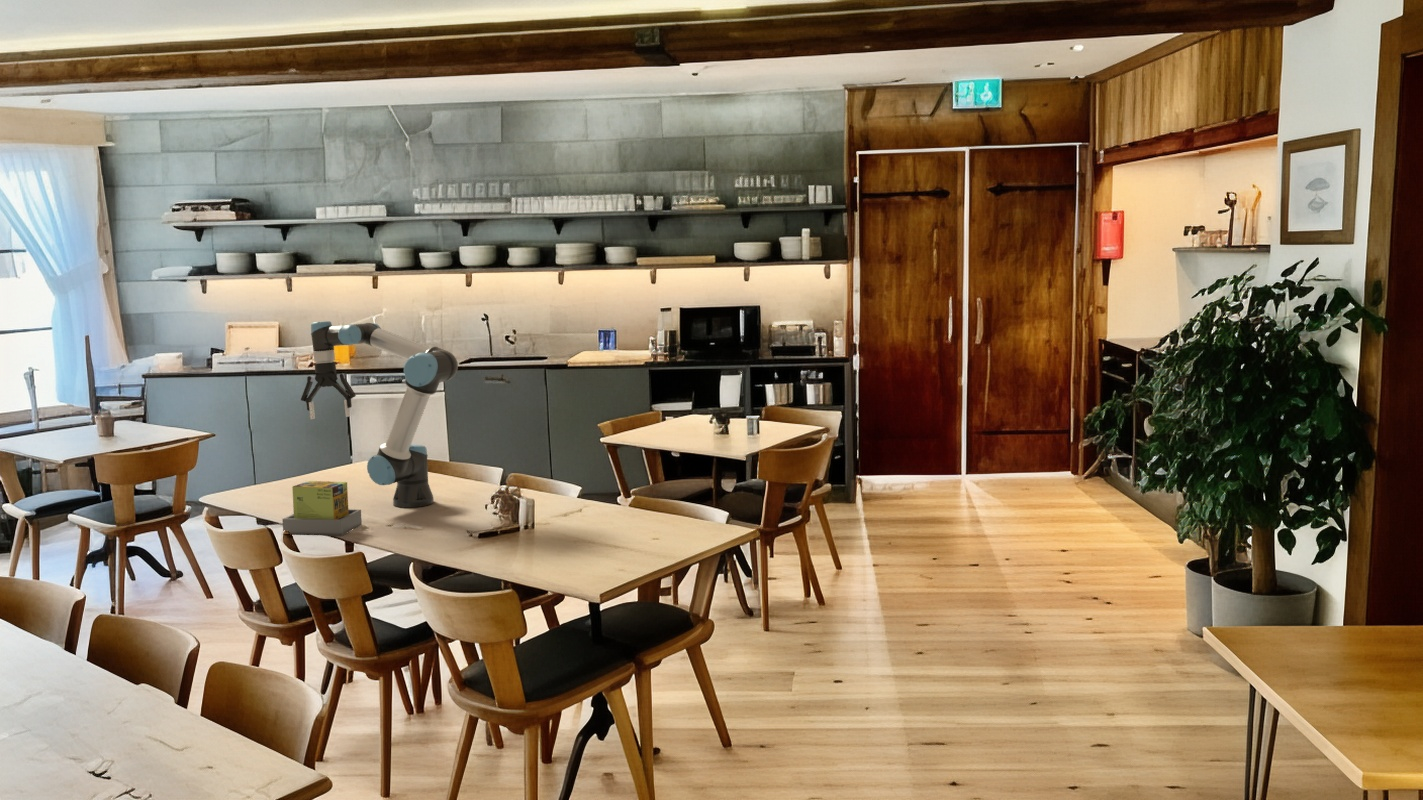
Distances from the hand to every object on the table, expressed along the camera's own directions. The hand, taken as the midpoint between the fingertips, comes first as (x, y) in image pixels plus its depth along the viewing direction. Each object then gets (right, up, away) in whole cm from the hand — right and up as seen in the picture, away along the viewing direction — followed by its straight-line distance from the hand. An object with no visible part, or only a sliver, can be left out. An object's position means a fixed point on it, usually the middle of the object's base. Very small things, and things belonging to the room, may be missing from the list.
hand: (330, 417), depth 410 cm
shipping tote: (+9, -39, -33) cm, 52 cm away
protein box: (+9, -38, -34) cm, 52 cm away
